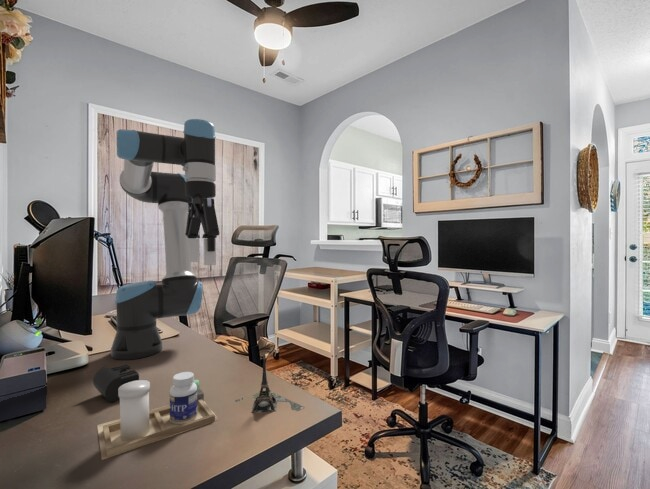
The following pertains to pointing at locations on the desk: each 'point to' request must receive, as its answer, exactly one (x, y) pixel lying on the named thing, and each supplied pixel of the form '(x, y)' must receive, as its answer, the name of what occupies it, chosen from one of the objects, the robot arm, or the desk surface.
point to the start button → (196, 383)
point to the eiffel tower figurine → (268, 397)
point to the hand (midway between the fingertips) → (201, 263)
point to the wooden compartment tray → (151, 428)
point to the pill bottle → (183, 398)
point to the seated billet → (134, 409)
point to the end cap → (113, 380)
